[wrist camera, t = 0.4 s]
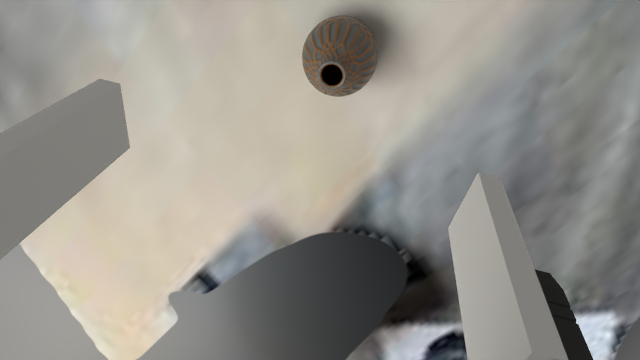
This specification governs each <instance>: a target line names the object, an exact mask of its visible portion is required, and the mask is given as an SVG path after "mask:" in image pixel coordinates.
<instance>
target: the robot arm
mask: <svg viewBox="0 0 640 360" xmlns="http://www.w3.org/2000/svg"><path fill="white" fill-rule="evenodd" d="M129 148H130V145H129V138H128V132H127V126H126V119H125V113H124V106H123V100H122V93H121V87H120V84H119V83H115V82H111V81H107V80H103V79H99V80H97V81H95V82H93V83H91V84H89V85H88V86H86V87H84V88H82V89H80V90H79V91H77V92H75V93H73V94H71V95H69V96H68V97H66V98H64V99H62V100H60V101H59V102H57V103H55V104H53V105H51V106H49V107H48V108H46V109H44V110H42V111H40V112H39V113H37V114H35V115H33V116H31V117H29V118H28V119H26V120H24V121H22V122H20V123H18V124H17V125H15V126H13V127H11V128H9V129H8V130H6V131H4V132H2V133H0V259H1V258H3V257H4V256H5V255H6V254H7V253H9V252H10V251H11V250H12V249H13V248H14V247H15V246H17V245H18V244H19V243H20V242H21V241H22V240H24V239H25V238H26V237H27V236H28V235H29V234H31V233H32V232H33V231H34V230H35V229H36V228H37V227H39V226H40V225H41V224H42V223H43V222H44V221H46V220H47V219H48V218H49V217H50V216H51V215H52V214H54V213H55V212H56V211H57V210H58V209H59V208H61V207H62V206H63V205H64V204H65V203H66V202H68V201H69V200H70V199H71V198H72V197H73V196H74V195H76V194H77V193H78V192H79V191H80V190H81V189H83V188H84V187H85V186H86V185H87V184H88V183H90V182H91V181H92V180H93V179H94V178H95V177H96V176H98V175H99V174H100V173H101V172H102V171H103V170H105V169H106V168H107V167H108V166H109V165H110V164H112V163H113V162H114V161H115V160H116V159H117V158H118V157H120V156H121V155H122V154H123V153H124V152H125V151H127V150H128V149H129ZM448 230H449V237H450V243H451V250H452V257H453V263H454V270H455V277H456V283H457V290H458V297H459V303H460V310H461V317H462V323H463V330H464V337H465V343H466V350H467V357H468V360H593V358H592V356H591V353H590V351H589V349H588V346H587V344H586V342H585V339H584V337H583V335H582V332H581V330H580V328H579V325H578V324H576V318H575V316H574V314H573V312H572V310H570V305H569V302H568V300H567V298H566V295H565V293H564V291H563V289H562V288H561V287H560V285H559V284H558V283H557V282H556V280H555V279H554V278H553V277H552V276H551V274H550V273H546V272H542V271H539V270H535V269H534V267H533V264H532V261H531V259H530V256H529V253H528V251H527V248H526V245H525V243H524V240H523V237H522V235H521V232H520V229H519V227H518V224H517V221H516V219H515V216H514V213H513V211H512V208H511V205H510V203H509V200H508V197H507V195H506V192H505V189H504V187H503V184H502V181H501V179H500V178H499V177H495V176H491V175H487V174H483V173H479V172H478V174H477V176H476V178H475V180H474V181H473V183H472V185H471V187H470V189H469V191H468V193H467V194H466V196H465V198H464V200H463V202H462V204H461V205H460V207H459V209H458V211H457V213H456V215H455V217H454V218H453V220H452V222H451V224H450V226H449V228H448Z"/></svg>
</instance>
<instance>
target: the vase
mask: <svg viewBox="0 0 640 360" xmlns="http://www.w3.org/2000/svg"><path fill="white" fill-rule="evenodd" d="M302 61H303V68H304V71H305V74H306V76H307V78H308V80H309V81H310V83H311V84H312V85H313V86H314V87H315V88H316V89H317V90H319V91H320V92H322V93H324V94H327V95H330V96H336V97H340V96H347V95H350V94H353V93H355V92H357V91H358V90H360V89H361V88H362V87H364V86H365V85H366V84H367V82H368V81H369V80H370V78H371V77H372V75H373V73H374V71H375V68H376V64H377V46H376V42H375V39H374V37H373V35H372V33H371V31H370V30H369V29H368V28H367V27H366V26H365V25H364V24H363V23H362V22H360V21H359V20H357V19H355V18H352V17H348V16H334V17H331V18H328V19H326V20H324V21H322V22H321V23H319V24H318V25H317V26H316V27H315V28H314V29H313V30H312V31H311V32H310V34H309V35H308V37H307V39H306V41H305V44H304V48H303V54H302Z"/></svg>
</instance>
